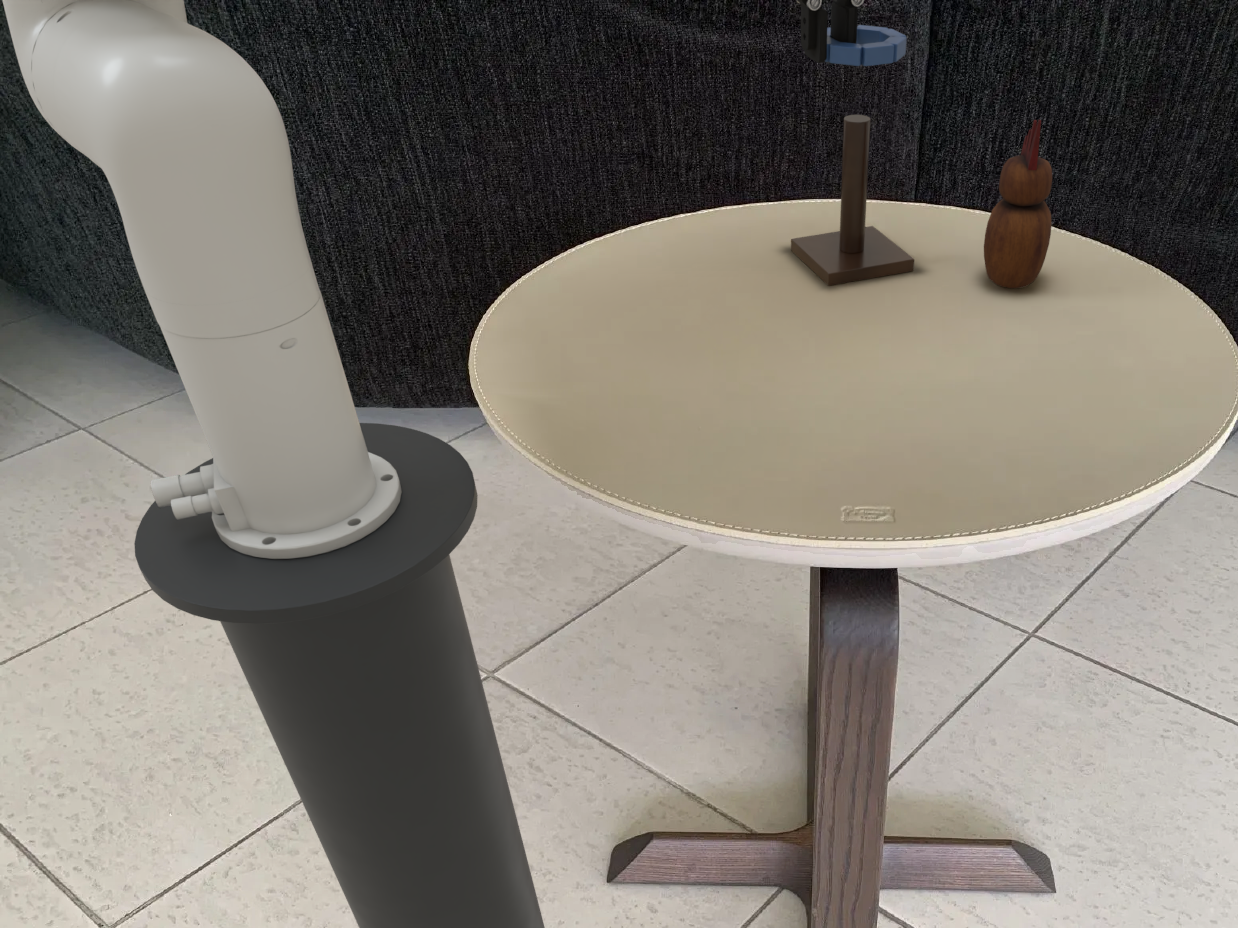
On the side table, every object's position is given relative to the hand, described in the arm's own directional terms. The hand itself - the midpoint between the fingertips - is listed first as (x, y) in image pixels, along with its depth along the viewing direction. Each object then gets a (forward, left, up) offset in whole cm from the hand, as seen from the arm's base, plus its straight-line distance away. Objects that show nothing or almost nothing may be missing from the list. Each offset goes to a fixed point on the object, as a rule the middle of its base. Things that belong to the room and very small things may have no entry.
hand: (828, 55), depth 92 cm
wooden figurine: (+15, -10, -19) cm, 26 cm away
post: (+3, 0, -19) cm, 19 cm away
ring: (+3, 0, 0) cm, 3 cm away
